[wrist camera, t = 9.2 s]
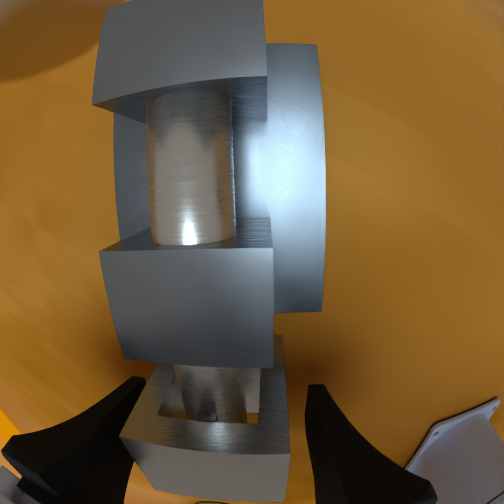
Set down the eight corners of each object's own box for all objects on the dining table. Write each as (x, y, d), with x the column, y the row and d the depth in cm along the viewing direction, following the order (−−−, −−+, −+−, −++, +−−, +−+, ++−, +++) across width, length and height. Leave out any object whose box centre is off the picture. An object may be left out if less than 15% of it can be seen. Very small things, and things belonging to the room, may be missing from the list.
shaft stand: (308, 398, 13) (320, 478, 8) (162, 392, 13) (131, 463, 8) (313, 52, 9) (342, -22, 4) (125, 72, 9) (53, 29, 4)
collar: (280, 396, 13) (284, 501, 7) (187, 393, 13) (155, 489, 7) (282, 334, 12) (290, 453, 6) (174, 333, 12) (118, 435, 6)
